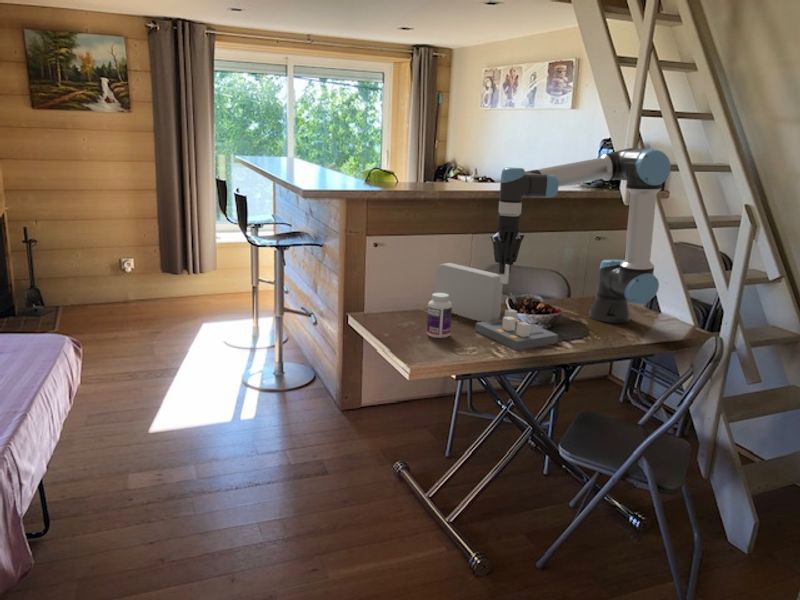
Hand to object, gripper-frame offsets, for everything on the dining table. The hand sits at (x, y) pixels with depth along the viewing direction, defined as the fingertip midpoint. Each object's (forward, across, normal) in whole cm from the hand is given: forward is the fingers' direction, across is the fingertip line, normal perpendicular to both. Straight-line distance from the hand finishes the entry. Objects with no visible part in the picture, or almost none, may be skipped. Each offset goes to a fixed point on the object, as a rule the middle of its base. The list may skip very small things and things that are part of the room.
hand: (503, 282), depth 217 cm
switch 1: (+15, -4, 0) cm, 15 cm away
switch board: (+18, -1, +7) cm, 19 cm away
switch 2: (+15, +2, +14) cm, 20 cm away
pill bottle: (+18, +23, -5) cm, 29 cm away
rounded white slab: (+18, -1, -22) cm, 29 cm away
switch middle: (+15, +2, +7) cm, 16 cm away
